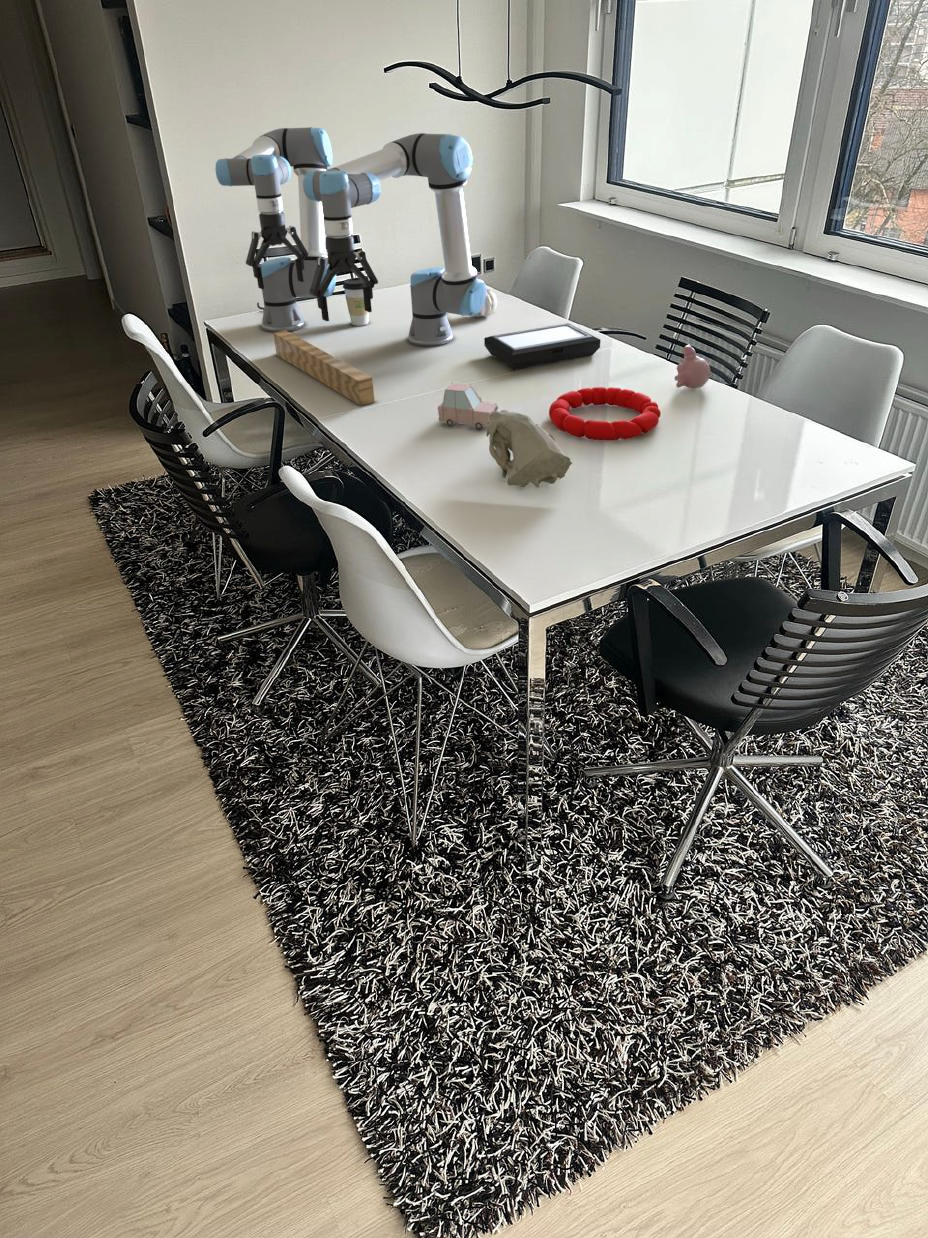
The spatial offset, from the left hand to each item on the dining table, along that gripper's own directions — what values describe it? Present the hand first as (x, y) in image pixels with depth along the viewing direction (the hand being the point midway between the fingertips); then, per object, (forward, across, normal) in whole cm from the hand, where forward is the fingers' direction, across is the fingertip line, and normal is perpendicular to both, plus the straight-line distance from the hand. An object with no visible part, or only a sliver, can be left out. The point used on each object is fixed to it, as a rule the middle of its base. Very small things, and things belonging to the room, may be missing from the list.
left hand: (281, 284), depth 282 cm
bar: (+24, 0, -22) cm, 33 cm away
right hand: (0, 0, -44) cm, 44 cm away
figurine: (+24, +82, -101) cm, 132 cm away
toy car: (+24, +15, -82) cm, 87 cm away
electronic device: (+24, +66, -50) cm, 86 cm away
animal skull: (+24, +8, -115) cm, 118 cm away
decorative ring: (+24, +45, -104) cm, 116 cm away
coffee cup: (+24, +37, +21) cm, 49 cm away
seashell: (+24, +77, -1) cm, 81 cm away
